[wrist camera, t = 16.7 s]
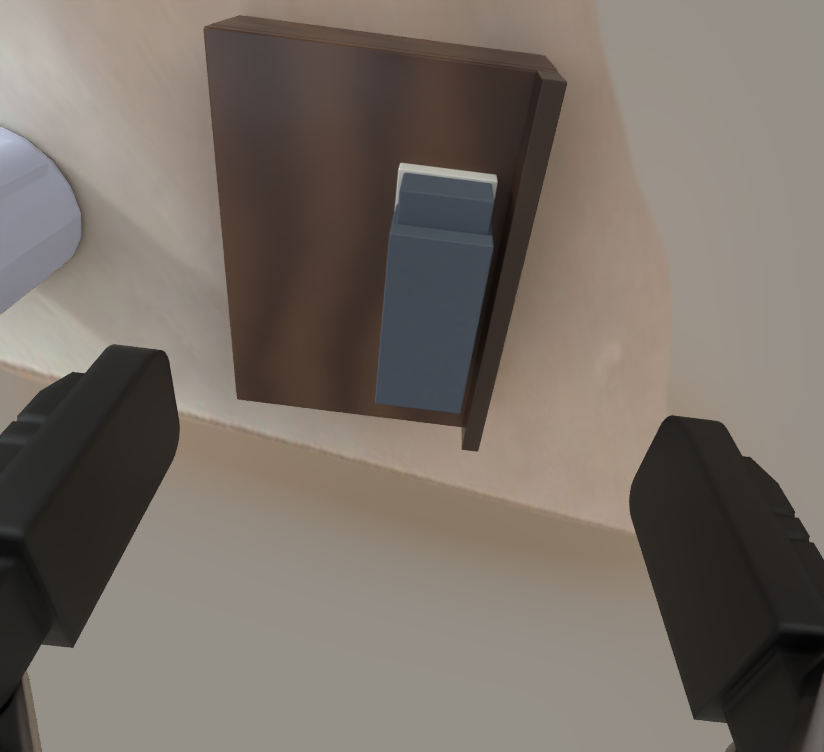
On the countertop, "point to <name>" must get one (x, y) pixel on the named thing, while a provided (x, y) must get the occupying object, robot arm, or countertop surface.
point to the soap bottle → (32, 218)
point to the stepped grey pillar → (434, 285)
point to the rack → (360, 195)
